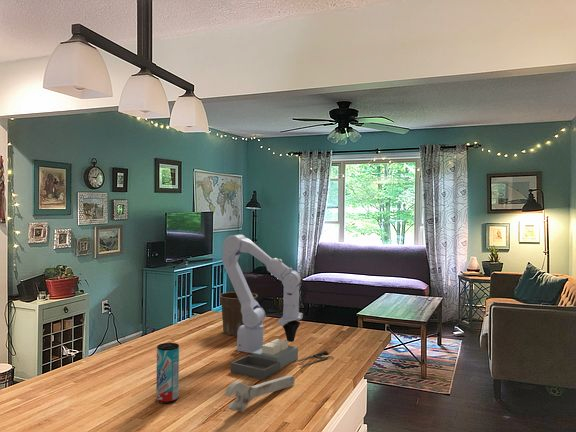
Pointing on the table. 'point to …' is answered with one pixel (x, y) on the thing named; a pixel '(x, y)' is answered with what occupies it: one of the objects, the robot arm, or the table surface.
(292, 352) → the gray rectangular block
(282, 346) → the tile back
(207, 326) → the table surface
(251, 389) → the wrench
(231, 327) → the plant pot
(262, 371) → the box
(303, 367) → the hacksaw
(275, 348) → the tile front
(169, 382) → the beverage can
